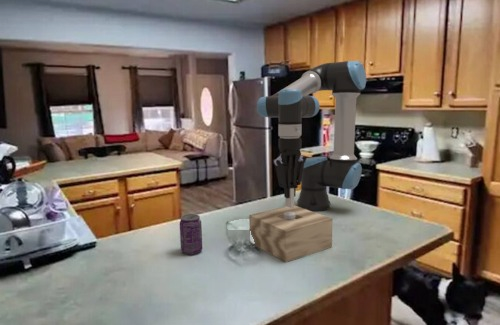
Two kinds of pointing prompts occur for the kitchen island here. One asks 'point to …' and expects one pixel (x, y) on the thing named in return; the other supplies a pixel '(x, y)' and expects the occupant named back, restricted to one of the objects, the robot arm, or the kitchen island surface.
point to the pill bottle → (289, 216)
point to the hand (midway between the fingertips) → (289, 206)
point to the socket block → (291, 232)
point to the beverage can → (190, 234)
